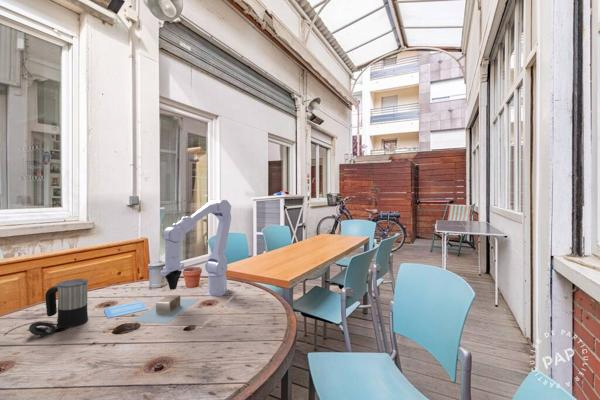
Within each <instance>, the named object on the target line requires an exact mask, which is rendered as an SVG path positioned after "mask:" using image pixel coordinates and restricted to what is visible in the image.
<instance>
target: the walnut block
mask: <svg viewBox="0 0 600 400" xmlns="http://www.w3.org/2000/svg"><path fill="white" fill-rule="evenodd" d="M180 299H181V295H178V294H177V295H176V294H169V295H166V296H165V297H163V298H162V299H160V300H159V301H157V302H155V306H156V313H164V314H168V313H170V312H171V311H173V310H174V309H175V308H177V307H178V306H180Z"/></svg>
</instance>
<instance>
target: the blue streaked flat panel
mask: <svg viewBox="0 0 600 400" xmlns="http://www.w3.org/2000/svg"><path fill="white" fill-rule="evenodd" d="M103 311H104V314H105V316H106V317H107V319H112V318H116V317H120V316H121V317H122V316H125V315H130V314H134V313H139V312H144V311H149V309H148V308H147V307H146V305H145V304H144V303H143V301H133V302H129V303H123V304H118V305H114V306H109V307H104V308H103Z"/></svg>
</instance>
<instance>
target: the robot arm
mask: <svg viewBox="0 0 600 400" xmlns="http://www.w3.org/2000/svg"><path fill="white" fill-rule="evenodd" d="M231 210H232V205H231V204H230V202H229V201H228V200H226V199H210V201H208V202H206V203H205V204H204V205H203V206H201V208H199V209H198V210H197V211H195V212H194V213H193V214H192V215H190V216H188V215H186V216H182V217H181V219H180V220H179V221H178V222H176V223H173V224H172V226H169V227H166V228H165V229H164V230H163V234H161V237H162V238H163V240H164V261H165V262H164V266H163V267H162V270H161V271H159V273H160V274H159V275H160V277H165V279H166V281H167V285H168V288H169V290H170V291H171V290H173V291H174V290H176V289H177V286H178V283H179V279H180V277H181V275H182V273H183V272H182V270H181V269H183V268H185V263H184V262H181V240H183V238H184V235H185V234H187V233H189V232H190V231H191V230H192V229H194V227H196V224H197V222H199V221H200V220H202V219H203V218H204V217H206V216H208V215H209V214H212V215H213V216H215V217H216V218H217V220H218V224H217V229H216V235H215V238H214V239H215V240H214V242H213V243H214V245H213V250H212V253H211V254H210V255H209V256H208V259H207V261H206V263H205V264H204V268H205V271H206V272H207V275H208V277H207V278H208V279H207V281H208V282H207V283H208V289H207V290H208V292H206V293H205V294H204V295H205V296H213V297H215V296H217V297H222V296H223V295H224V294H226V292H227V291H229V288H228V285H227V284H228V277H227V275H226V273H227V271H228V268H229V267H228V258H227V257H226V255H225V253H226V247H227V245H228V244H227V243H228V237H229V233H230V227H231V221H232V214H231Z"/></svg>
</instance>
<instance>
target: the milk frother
mask: <svg viewBox="0 0 600 400" xmlns="http://www.w3.org/2000/svg"><path fill="white" fill-rule="evenodd" d="M88 283H89V279H84V278H83V279H82V278H79V279H78V278H77V279H76V278H75V279H69V280H64V281H61V282H58V283H56V285H54V286H52V287H50V288H48V289H47V290H46V292H45V297H44V298H45V308H46V316H47V317H52V316H54V315H56V314H57V320H56V322H57V323H54V322H53V323H52V322H46V321H38V322H37V321H36V322H32V323H31V324H30V325H29V326H28V330H29V333H31V335H32V334H33V335H34V336H39V337H43V336H48V335H52V334H54V333H55V332H56V330H57V327H58V328H63V329H65V328H74V327H78V326H80V324H81V325H82V324H85V323H86V322H88V321H89V316H88V285H89V284H88ZM55 325H56V326H55ZM48 328H49V329H50V330H48Z"/></svg>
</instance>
